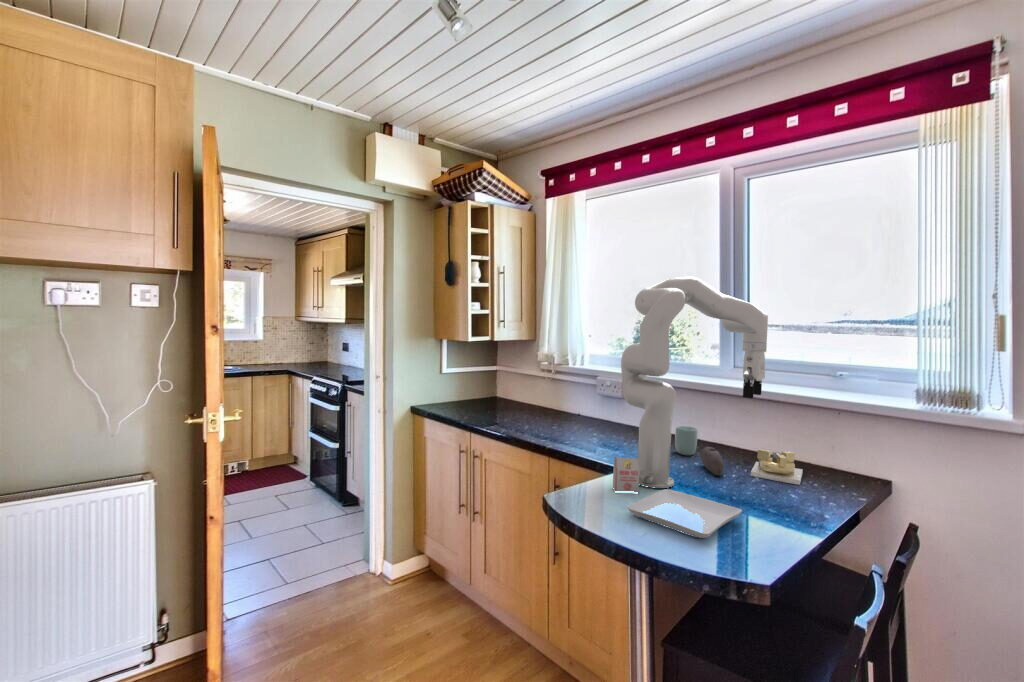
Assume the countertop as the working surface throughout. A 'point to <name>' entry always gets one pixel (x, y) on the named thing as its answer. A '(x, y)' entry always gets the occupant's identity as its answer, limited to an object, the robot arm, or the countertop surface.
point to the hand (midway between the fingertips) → (752, 396)
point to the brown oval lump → (712, 460)
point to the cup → (686, 440)
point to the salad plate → (707, 510)
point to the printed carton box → (626, 474)
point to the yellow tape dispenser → (777, 461)
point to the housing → (777, 474)
